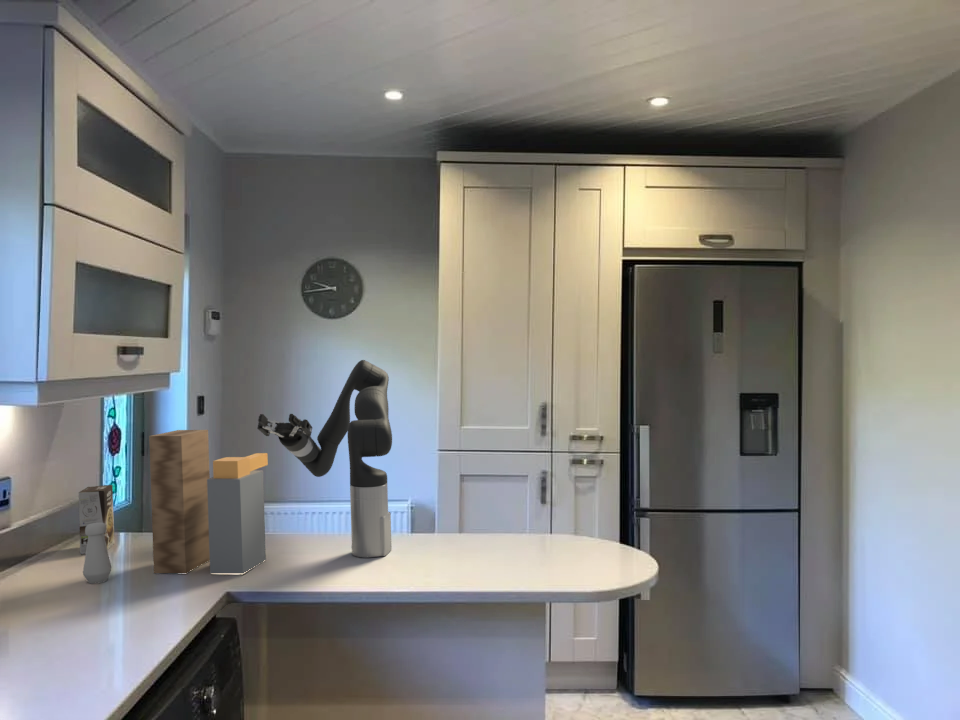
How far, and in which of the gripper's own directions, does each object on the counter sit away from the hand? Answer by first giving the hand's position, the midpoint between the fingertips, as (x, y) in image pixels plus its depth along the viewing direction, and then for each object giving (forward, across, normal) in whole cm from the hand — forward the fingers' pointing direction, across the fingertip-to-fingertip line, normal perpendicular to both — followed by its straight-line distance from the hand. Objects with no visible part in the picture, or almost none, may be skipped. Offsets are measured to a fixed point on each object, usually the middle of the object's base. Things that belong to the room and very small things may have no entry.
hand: (275, 417), depth 202 cm
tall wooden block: (+7, -12, +42) cm, 44 cm away
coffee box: (-4, -44, +36) cm, 57 cm away
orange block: (+14, +2, +21) cm, 25 cm away
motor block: (+7, +2, +42) cm, 43 cm away
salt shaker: (+18, -26, +48) cm, 58 cm away
